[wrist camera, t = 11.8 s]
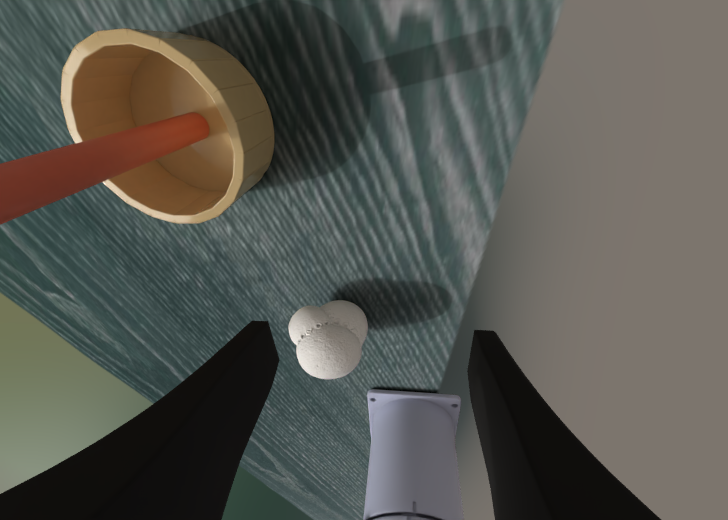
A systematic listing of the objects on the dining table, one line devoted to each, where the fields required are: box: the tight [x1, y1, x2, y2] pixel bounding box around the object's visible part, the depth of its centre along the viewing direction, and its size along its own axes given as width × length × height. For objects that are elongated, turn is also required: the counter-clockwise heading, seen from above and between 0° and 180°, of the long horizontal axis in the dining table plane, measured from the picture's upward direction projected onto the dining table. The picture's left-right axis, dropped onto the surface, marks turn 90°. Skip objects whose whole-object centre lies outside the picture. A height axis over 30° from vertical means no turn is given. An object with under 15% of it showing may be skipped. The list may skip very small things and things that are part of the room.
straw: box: [0, 112, 209, 224], centre depth 13 cm, size 1×1×11 cm
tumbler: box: [61, 28, 275, 223], centre depth 16 cm, size 8×8×4 cm
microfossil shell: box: [288, 300, 368, 379], centre depth 22 cm, size 4×5×6 cm
